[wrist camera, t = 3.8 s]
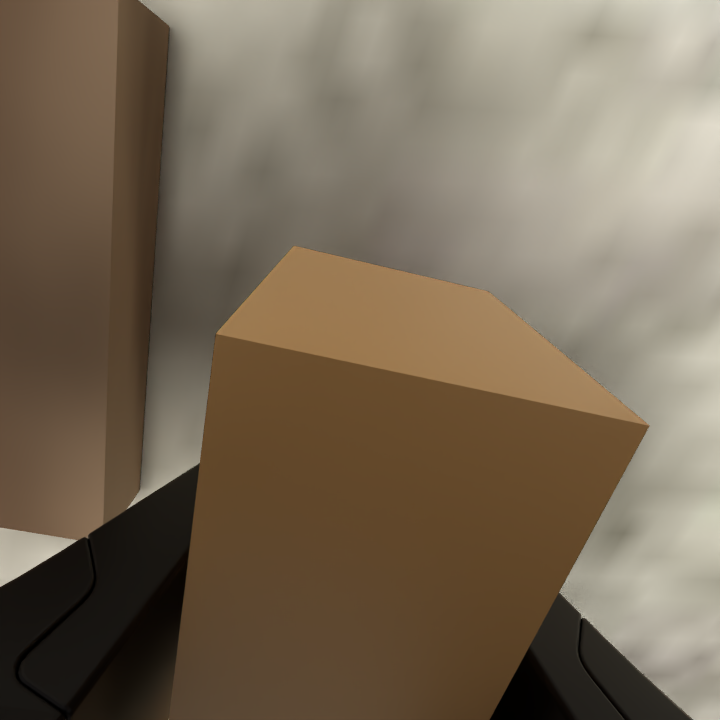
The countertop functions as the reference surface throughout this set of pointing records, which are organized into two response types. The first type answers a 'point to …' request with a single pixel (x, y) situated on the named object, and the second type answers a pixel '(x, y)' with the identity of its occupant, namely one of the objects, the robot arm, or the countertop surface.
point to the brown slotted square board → (76, 255)
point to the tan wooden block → (383, 498)
